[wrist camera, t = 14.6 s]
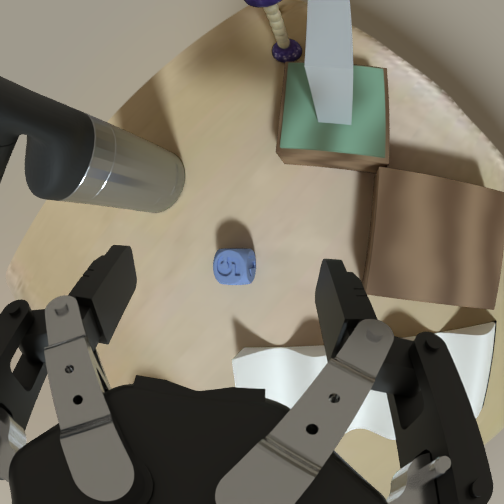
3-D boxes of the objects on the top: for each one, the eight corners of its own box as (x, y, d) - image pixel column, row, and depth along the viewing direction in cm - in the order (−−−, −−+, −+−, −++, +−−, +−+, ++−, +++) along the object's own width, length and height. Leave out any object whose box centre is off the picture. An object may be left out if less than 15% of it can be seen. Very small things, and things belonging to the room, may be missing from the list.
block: (318, 122, 28) (304, 66, 18) (321, 56, 27) (308, -8, 17) (351, 125, 27) (353, 69, 17) (351, 58, 26) (348, -7, 16)
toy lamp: (311, 51, 33) (287, -35, 17) (290, 71, 34) (255, -13, 18) (285, 37, 34) (252, -43, 18) (264, 56, 35) (221, -22, 19)
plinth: (284, 163, 35) (274, 150, 30) (292, 81, 34) (284, 59, 29) (382, 174, 31) (389, 162, 26) (382, 88, 31) (387, 66, 25)
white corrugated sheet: (484, 402, 28) (496, 419, 23) (255, 425, 38) (244, 445, 33) (496, 319, 28) (514, 329, 23) (245, 345, 38) (231, 359, 33)
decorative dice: (256, 281, 36) (246, 285, 33) (225, 279, 38) (213, 283, 34) (256, 248, 36) (246, 249, 33) (225, 248, 37) (212, 249, 34)
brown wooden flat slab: (362, 286, 33) (365, 294, 28) (374, 177, 32) (379, 166, 27) (476, 301, 28) (493, 309, 23) (487, 198, 27) (506, 192, 22)
